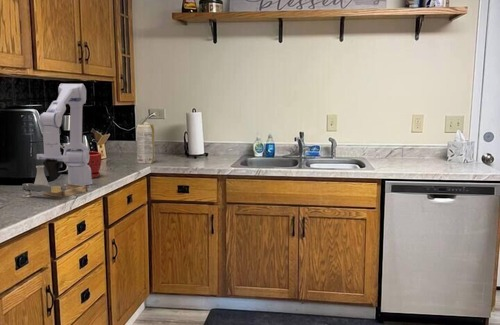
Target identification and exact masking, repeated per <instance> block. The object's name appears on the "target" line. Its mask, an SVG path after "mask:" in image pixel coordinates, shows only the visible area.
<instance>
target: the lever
mask: <svg viewBox="0 0 500 325" xmlns="http://www.w3.org/2000/svg"><path fill="white" fill-rule="evenodd" d="M21 186H22V190H23V191H24V190H31V191H32V190H34V191H35V192H43V191H45V192H53V193H58V192H61V191H62V186H59V185H50V184H49V185H38V184H34V183H30V182H29V183H22V185H21ZM34 191H33V192H34Z"/></svg>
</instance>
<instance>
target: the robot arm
mask: <svg viewBox="0 0 500 325" xmlns="http://www.w3.org/2000/svg"><path fill="white" fill-rule="evenodd" d="M57 90H58V91H57V92H58V96H57V98H56V100H52V102H51V103H50V105H49V107H48V108H47V110H46V112H45V111H44V112H42V113H41V114H40V115H39V121H38V122H39V126H40V129H41V132H42V136H43V137H42V140H43V153H37V154H36V160H44V161H42V164H43V166H44V168H45V170H46V171H47V173H48V177H49V180H57V178H58V173H59V171H60V167H61V166H62V163H64V164H65V165H66V167H67V172H68V173H67V177H68V179H67V180H68V183H65V184H63V186H64V187H67V184H74V185H83V186H89V185H93V184H94V182H92V181H93V180H92V178H91V168H90V166H89V165H87V164H88V162H89V158H90V156H89V147H88V146H87V145H86V144H84V143H83V107H84V106H83V105H84V104H86V103H87V102H86V101H87V88H86V86H85V85H84V83H60V84H59V86H58V89H57ZM66 105H69V107H70V109H69V110H70V112H69V113H70V114H69V117H70V118H69V143H68V144H66V145H65V146H64V148H63V154H61V142H60V139H61V138H60V137H61V136H60V127H62V123H63V122H62V120H63V116H64V114H65V113H66V110H67V107H66Z"/></svg>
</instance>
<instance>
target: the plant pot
mask: <svg viewBox="0 0 500 325" xmlns="http://www.w3.org/2000/svg"><path fill="white" fill-rule="evenodd" d="M89 156H90V158H89V162H88V164H87V165H89V166H90V168H91V179H94V178H98V177H99V176H100V175H101V173H100V169H101V166H102V153H101V152H100V151H89Z"/></svg>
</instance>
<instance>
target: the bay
mask: <svg viewBox="0 0 500 325" xmlns="http://www.w3.org/2000/svg"><path fill="white" fill-rule="evenodd" d="M66 184H67V186H66V189H65V190H61V192H58V193H53V192H45V191H42V194H43V195H45V196H50V197H51V196H52V197H58V198H59V197H60V198H65V197H69V196H73V195H78V194H82V193H85V192H88V190H89V188H88V185H86V186H83V185H74V184H69V183H66Z"/></svg>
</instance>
